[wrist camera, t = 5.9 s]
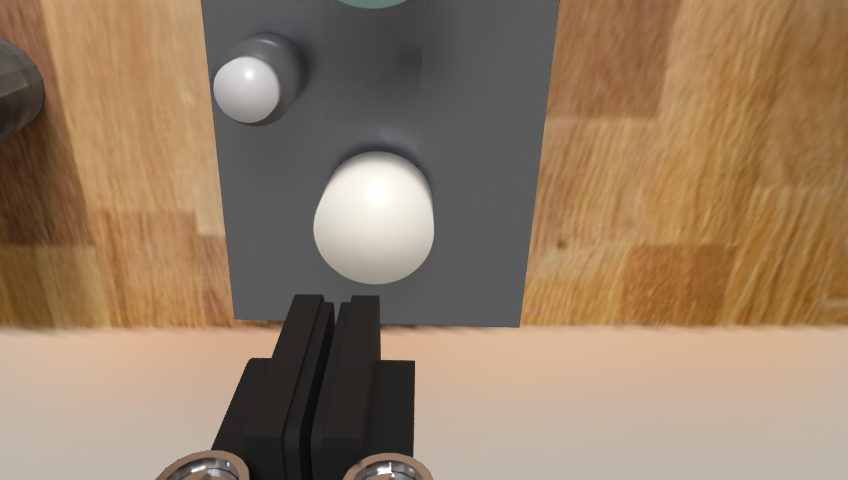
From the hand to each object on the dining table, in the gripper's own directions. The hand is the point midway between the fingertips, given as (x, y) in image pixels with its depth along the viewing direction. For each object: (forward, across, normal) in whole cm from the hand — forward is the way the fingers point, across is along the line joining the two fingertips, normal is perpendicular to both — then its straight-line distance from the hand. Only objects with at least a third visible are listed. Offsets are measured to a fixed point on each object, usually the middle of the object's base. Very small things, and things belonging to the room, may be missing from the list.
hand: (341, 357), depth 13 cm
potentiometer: (+16, +5, -3) cm, 17 cm away
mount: (+21, 0, -2) cm, 21 cm away
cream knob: (+20, 0, +3) cm, 20 cm away
